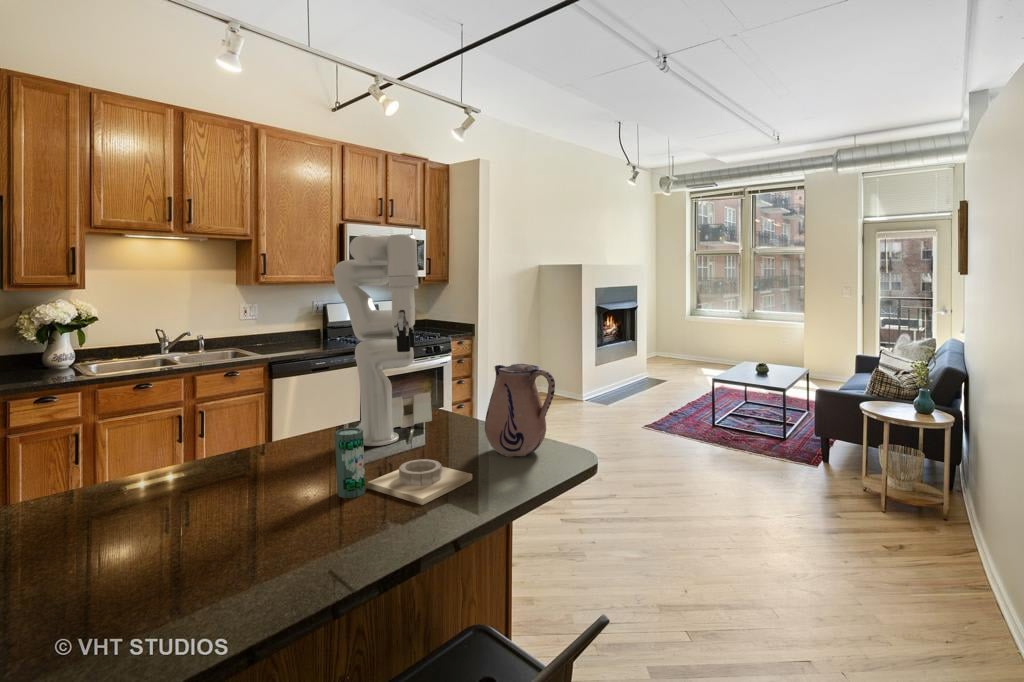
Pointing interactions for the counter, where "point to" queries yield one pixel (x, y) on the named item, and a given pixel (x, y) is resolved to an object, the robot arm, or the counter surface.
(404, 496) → the socket board
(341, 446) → the can
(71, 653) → the counter surface
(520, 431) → the ceramic pitcher
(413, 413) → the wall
